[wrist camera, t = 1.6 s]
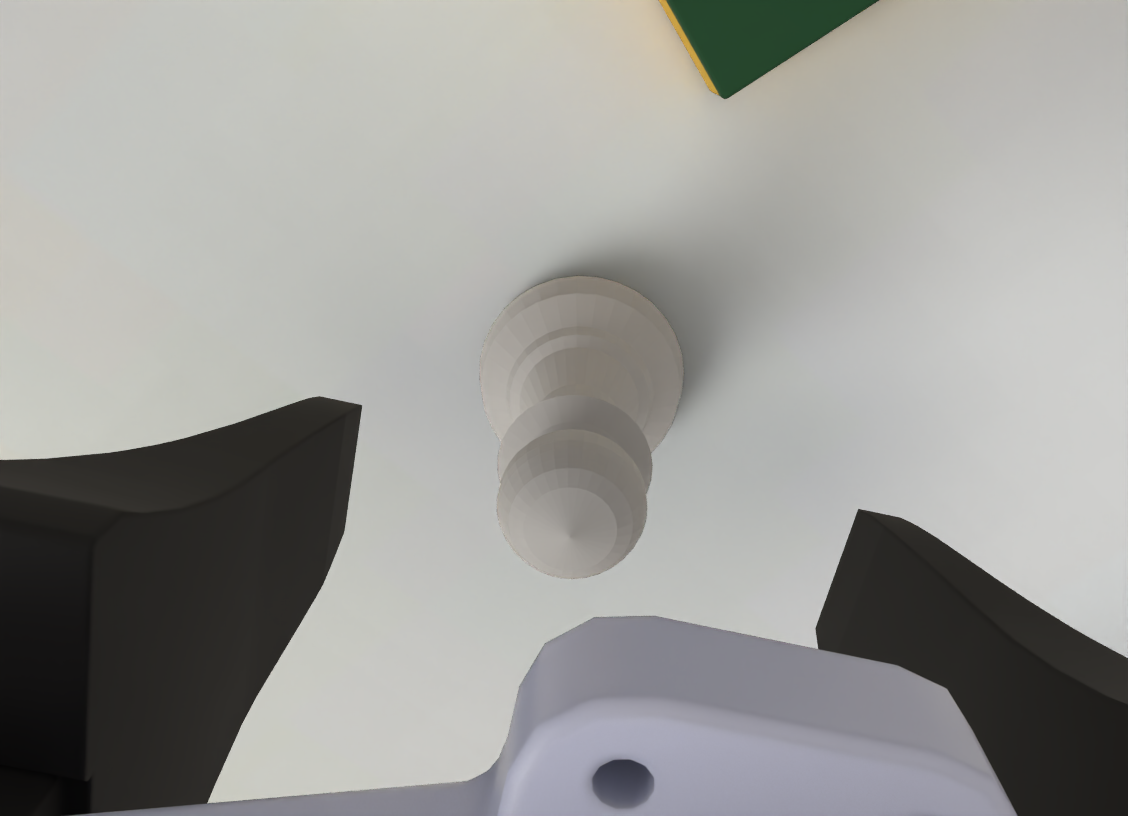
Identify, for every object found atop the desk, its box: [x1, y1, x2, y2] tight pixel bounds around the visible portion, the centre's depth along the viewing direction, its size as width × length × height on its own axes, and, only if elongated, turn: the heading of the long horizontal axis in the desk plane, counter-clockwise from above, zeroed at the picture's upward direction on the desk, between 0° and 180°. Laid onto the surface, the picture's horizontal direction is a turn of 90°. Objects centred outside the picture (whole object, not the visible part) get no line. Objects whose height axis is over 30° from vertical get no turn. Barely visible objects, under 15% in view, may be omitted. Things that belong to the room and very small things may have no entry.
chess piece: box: [480, 276, 684, 579], centre depth 19 cm, size 5×5×8 cm
